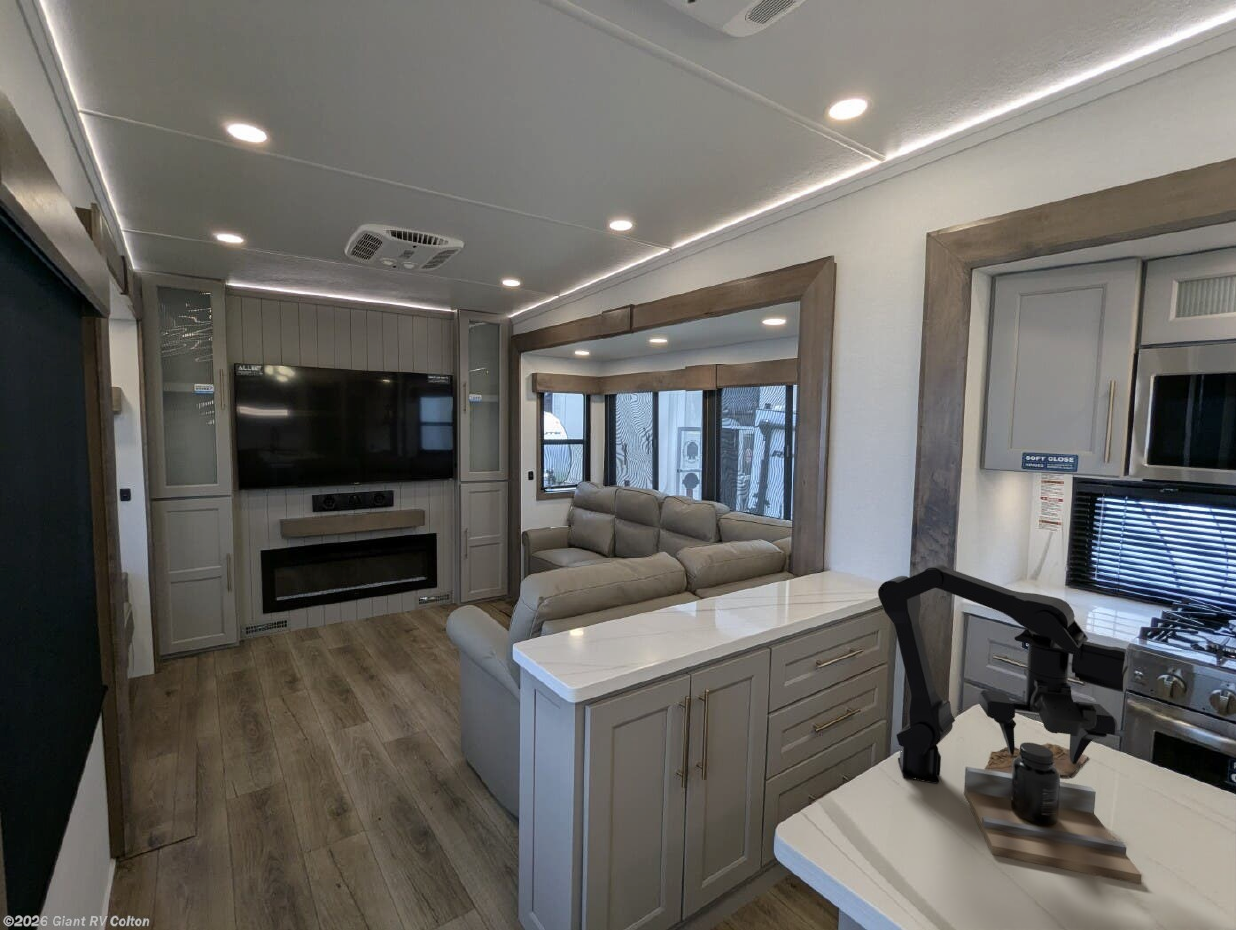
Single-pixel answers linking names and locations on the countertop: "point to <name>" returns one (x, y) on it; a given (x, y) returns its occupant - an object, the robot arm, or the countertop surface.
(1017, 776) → the supplement bottle
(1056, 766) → the wooden fragment
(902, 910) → the countertop surface
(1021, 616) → the robot arm
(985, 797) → the cleat board
